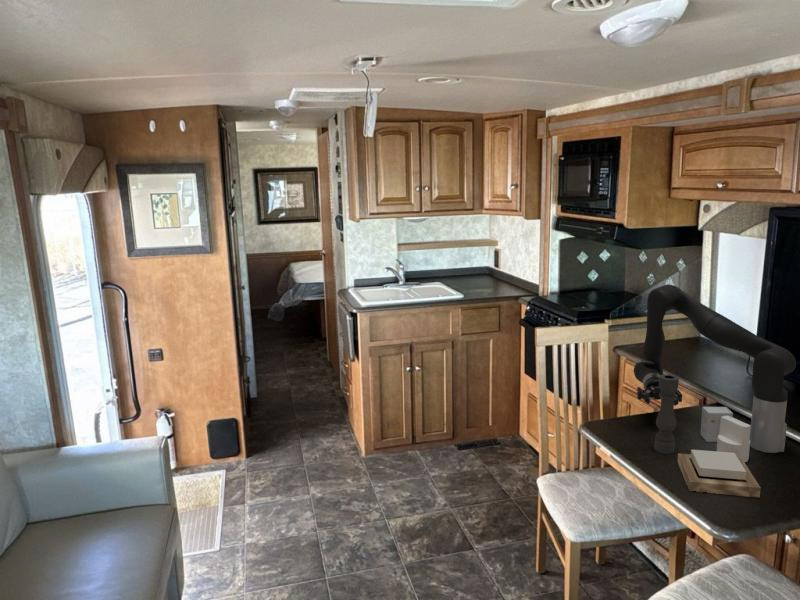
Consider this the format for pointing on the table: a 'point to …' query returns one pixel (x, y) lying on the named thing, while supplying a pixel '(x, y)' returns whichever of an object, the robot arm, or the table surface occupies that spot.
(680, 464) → the stand
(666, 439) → the candle holder
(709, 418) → the small box
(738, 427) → the cylinder with rectangular tab
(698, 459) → the platform
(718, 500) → the table surface
